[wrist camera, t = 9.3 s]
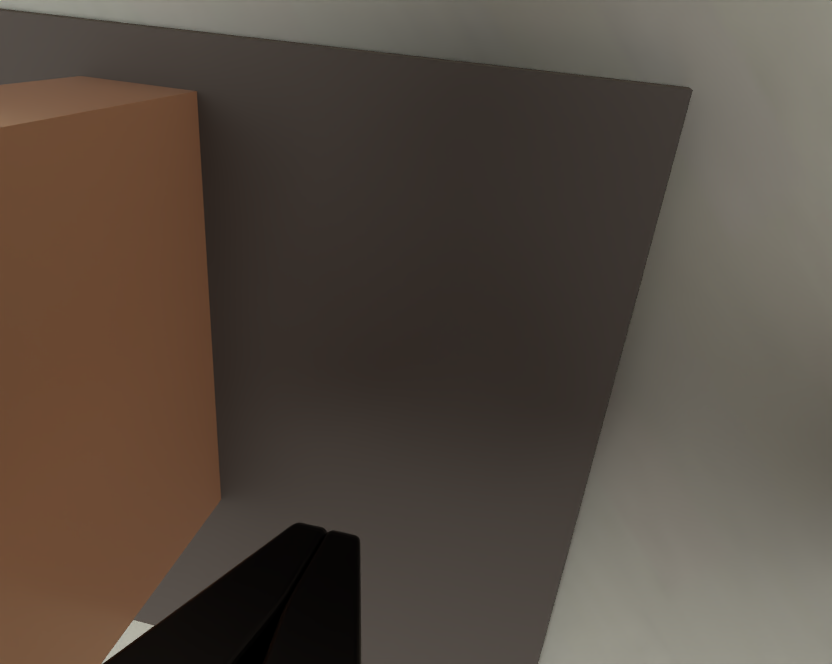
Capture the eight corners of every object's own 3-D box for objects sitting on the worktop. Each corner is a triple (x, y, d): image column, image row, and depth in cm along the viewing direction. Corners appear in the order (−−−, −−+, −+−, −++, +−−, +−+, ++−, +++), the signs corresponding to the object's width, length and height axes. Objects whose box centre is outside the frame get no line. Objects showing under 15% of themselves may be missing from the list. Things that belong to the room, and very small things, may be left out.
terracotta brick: (196, 90, 11) (-291, 181, 5) (221, 499, 15) (-24, 834, 9) (80, 76, 11) (-518, 141, 5) (135, 479, 15) (-159, 789, 9)
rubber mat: (688, 87, 10) (692, 89, 9) (522, 708, 16) (521, 723, 16) (-282, -23, 12) (-307, -25, 12) (-80, 549, 19) (-93, 559, 19)
